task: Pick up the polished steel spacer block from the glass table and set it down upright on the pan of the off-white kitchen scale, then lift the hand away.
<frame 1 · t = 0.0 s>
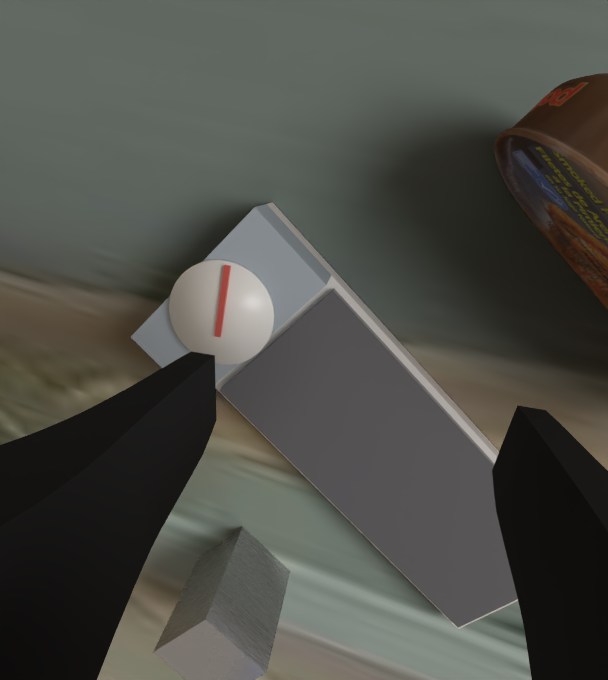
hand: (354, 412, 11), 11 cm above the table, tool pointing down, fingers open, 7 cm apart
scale: (375, 433, 23), on the table
spacer: (243, 563, 28), on the table
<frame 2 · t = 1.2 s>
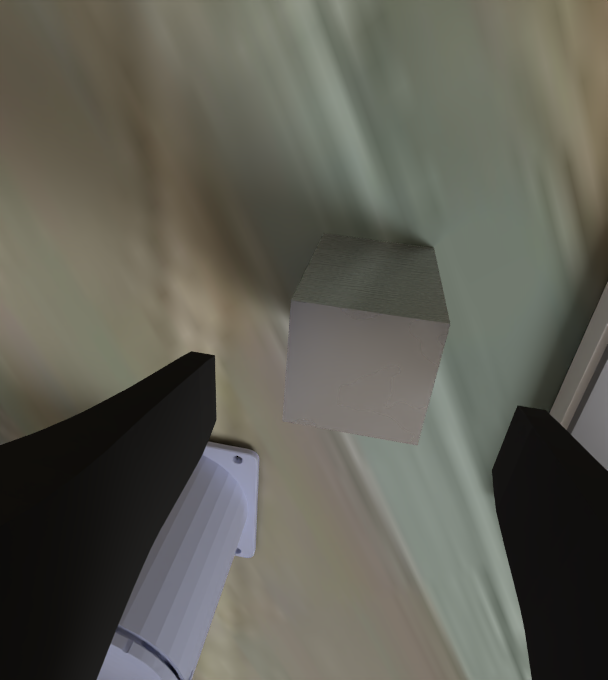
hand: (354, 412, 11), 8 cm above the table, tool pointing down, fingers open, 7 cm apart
spacer: (369, 290, 18), on the table
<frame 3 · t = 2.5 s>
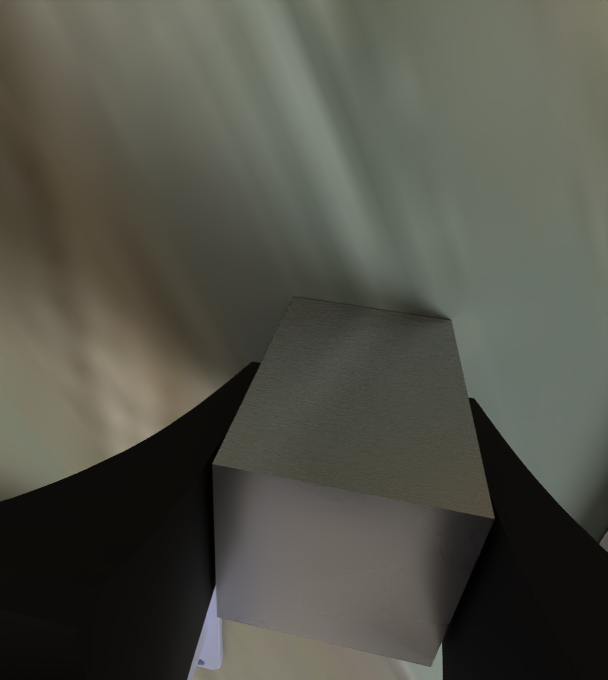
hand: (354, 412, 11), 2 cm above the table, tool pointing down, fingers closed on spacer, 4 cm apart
spacer: (359, 373, 13), on the table, touching gripper
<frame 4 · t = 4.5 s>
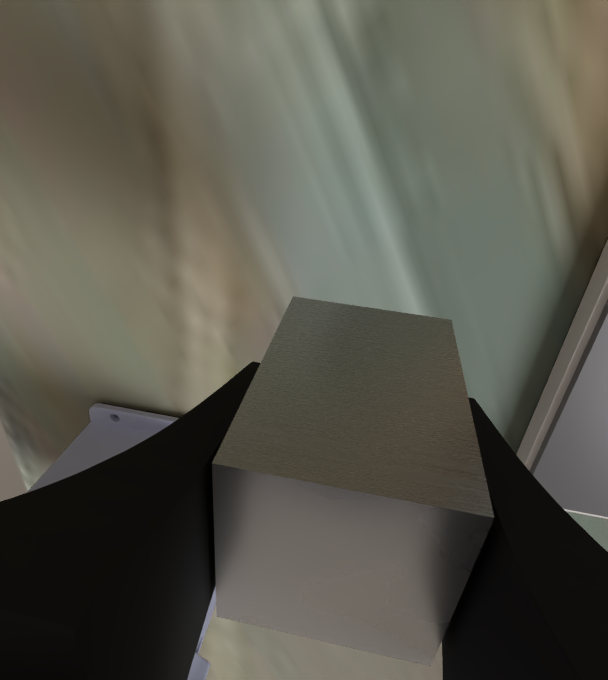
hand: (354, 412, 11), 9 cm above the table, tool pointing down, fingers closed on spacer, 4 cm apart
spacer: (359, 373, 13), point 7 cm above the table, touching gripper
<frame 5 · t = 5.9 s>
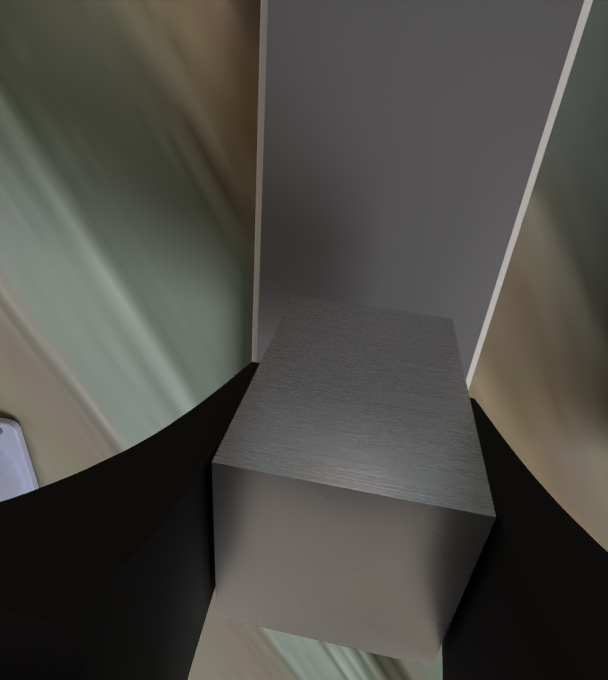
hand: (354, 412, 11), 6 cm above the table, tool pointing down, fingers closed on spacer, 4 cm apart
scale: (377, 249, 16), on the table
spacer: (359, 372, 13), point 5 cm above the table, touching gripper
when the fingers open (4 cm above the table, at t = 6.7 s): spacer stays where it is, resting on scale.
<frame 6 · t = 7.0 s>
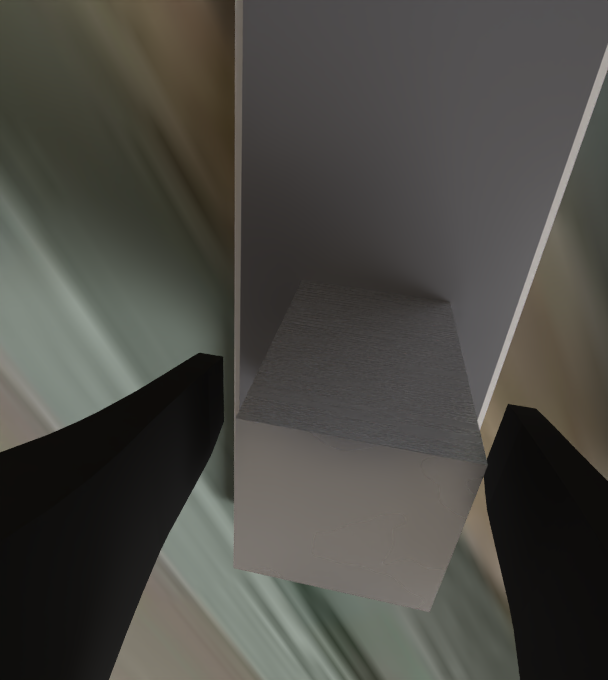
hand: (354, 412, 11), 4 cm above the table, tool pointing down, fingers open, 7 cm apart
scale: (375, 272, 14), on the table
spacer: (363, 353, 13), point 1 cm above the table, touching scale
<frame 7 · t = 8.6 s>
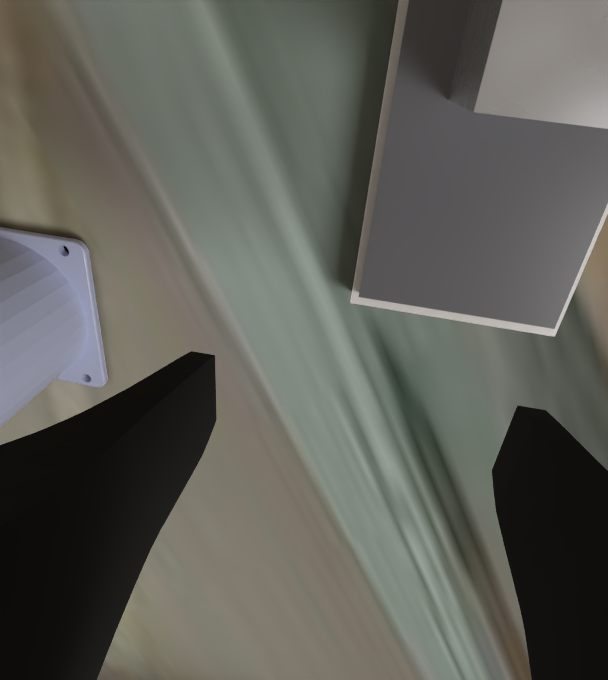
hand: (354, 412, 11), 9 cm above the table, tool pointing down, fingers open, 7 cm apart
spacer: (537, 29, 13), point 1 cm above the table, touching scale
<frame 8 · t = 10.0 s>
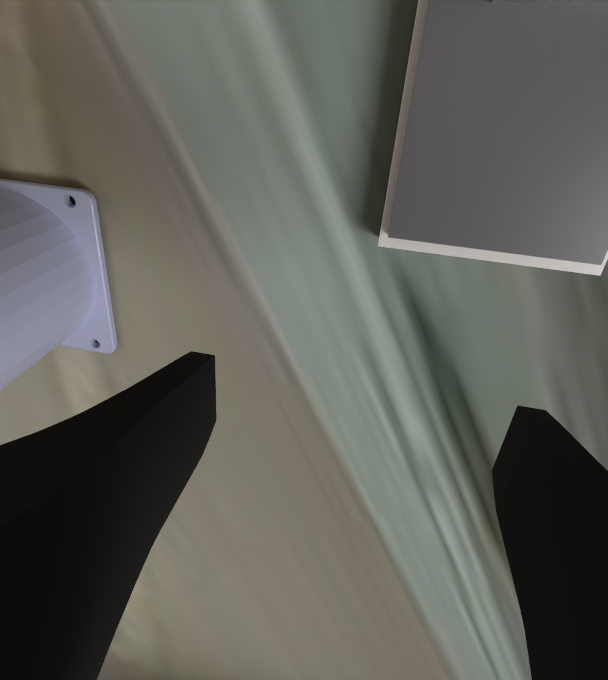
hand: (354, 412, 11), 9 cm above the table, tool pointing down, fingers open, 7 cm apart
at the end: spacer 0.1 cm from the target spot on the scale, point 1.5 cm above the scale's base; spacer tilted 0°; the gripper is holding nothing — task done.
